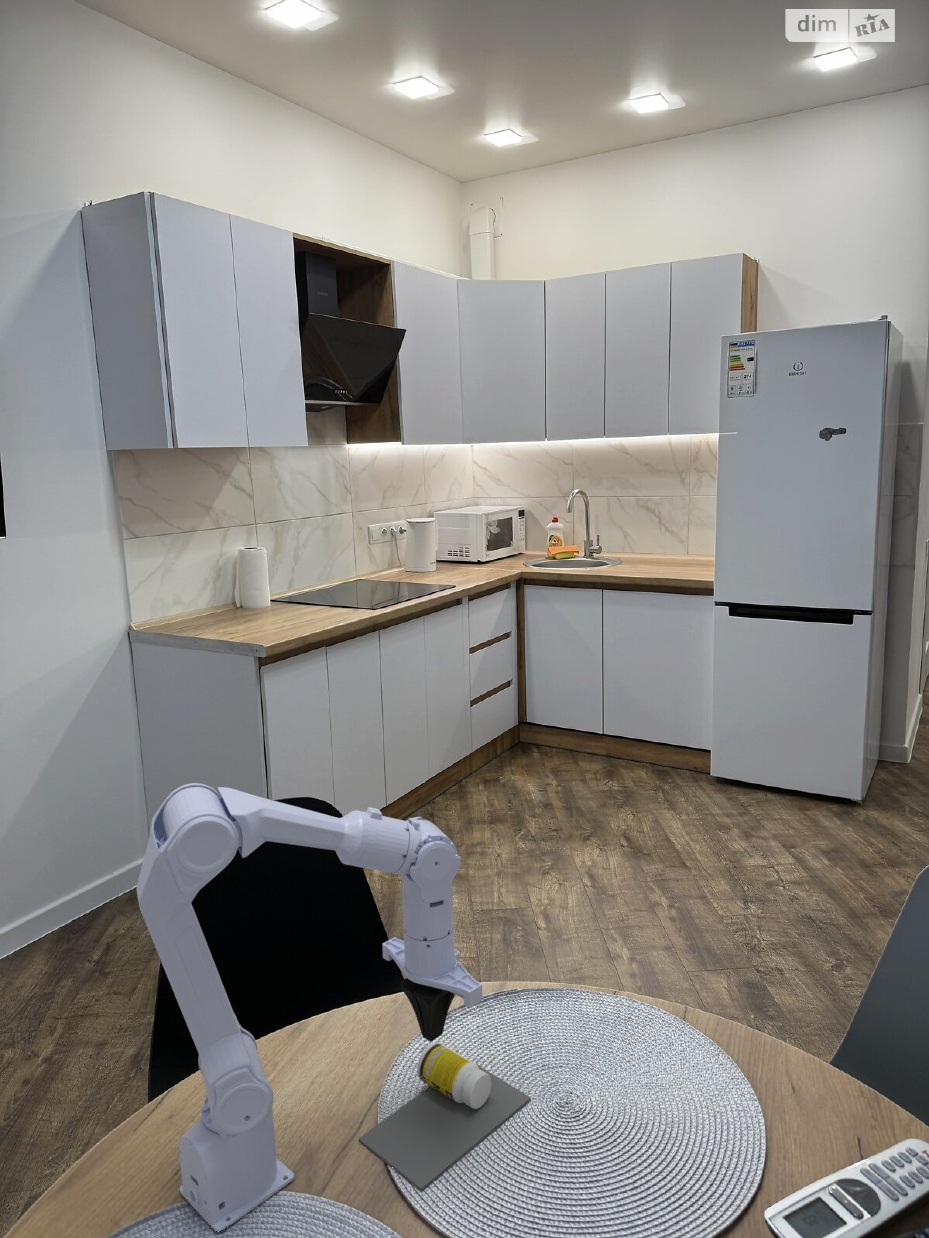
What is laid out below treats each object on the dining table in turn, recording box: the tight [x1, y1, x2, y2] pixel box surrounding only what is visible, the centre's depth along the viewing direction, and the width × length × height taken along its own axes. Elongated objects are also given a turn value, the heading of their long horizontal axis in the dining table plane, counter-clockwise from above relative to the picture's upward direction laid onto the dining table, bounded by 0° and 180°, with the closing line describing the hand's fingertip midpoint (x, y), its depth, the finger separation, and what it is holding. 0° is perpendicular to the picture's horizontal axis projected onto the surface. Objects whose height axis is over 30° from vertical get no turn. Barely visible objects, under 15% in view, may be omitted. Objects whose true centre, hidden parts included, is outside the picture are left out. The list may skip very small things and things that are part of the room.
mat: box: [358, 1062, 532, 1193], centre depth 104 cm, size 18×10×1 cm, turn 136°
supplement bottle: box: [416, 1042, 491, 1109], centre depth 107 cm, size 5×5×8 cm
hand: (432, 1035), depth 103 cm, fingers closed
